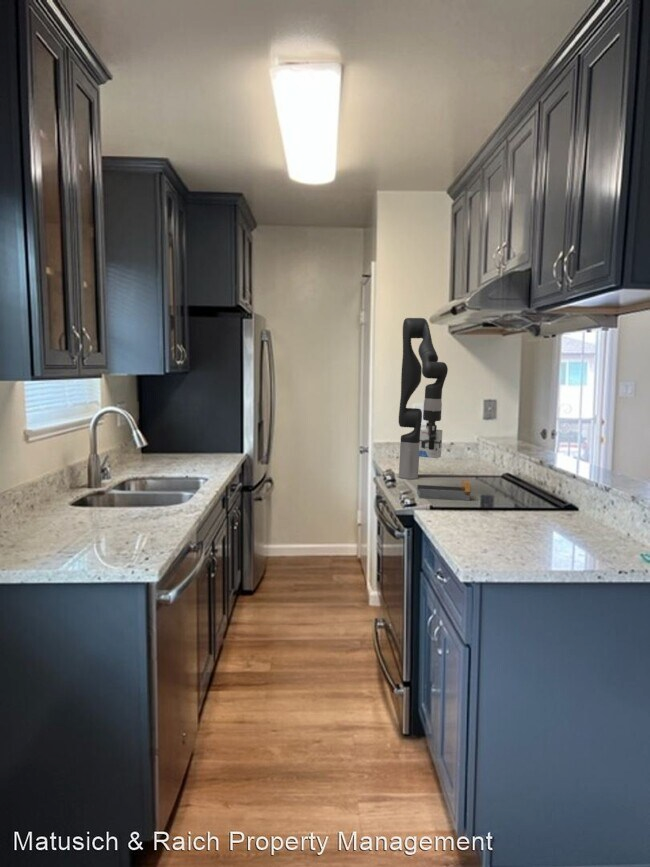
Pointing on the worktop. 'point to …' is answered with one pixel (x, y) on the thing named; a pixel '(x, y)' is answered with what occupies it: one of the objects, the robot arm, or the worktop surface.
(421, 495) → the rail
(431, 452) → the ink box
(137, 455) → the worktop surface
